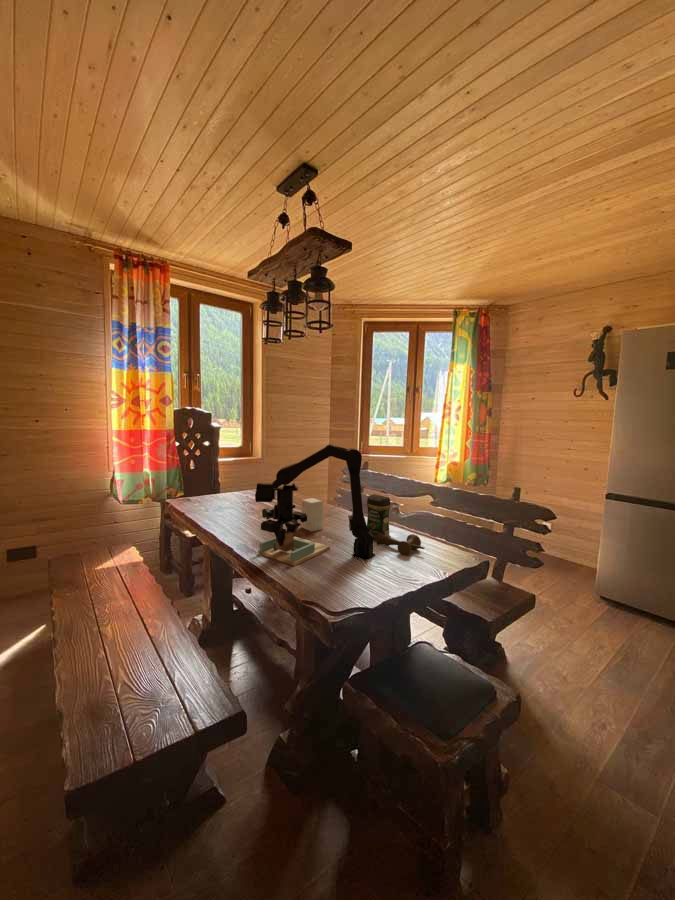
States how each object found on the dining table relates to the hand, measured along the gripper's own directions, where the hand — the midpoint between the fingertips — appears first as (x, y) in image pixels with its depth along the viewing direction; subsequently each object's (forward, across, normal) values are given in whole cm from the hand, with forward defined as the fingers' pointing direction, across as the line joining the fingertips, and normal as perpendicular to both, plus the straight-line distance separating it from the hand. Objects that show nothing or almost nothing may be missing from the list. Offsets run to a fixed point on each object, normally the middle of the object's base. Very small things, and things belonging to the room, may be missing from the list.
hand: (284, 544), depth 135 cm
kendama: (+5, -32, +30) cm, 44 cm away
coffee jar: (+4, -38, +17) cm, 42 cm away
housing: (+3, -1, 0) cm, 3 cm away
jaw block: (+2, 0, 0) cm, 2 cm away
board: (+4, -6, 0) cm, 7 cm away
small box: (+4, -32, -13) cm, 34 cm away
